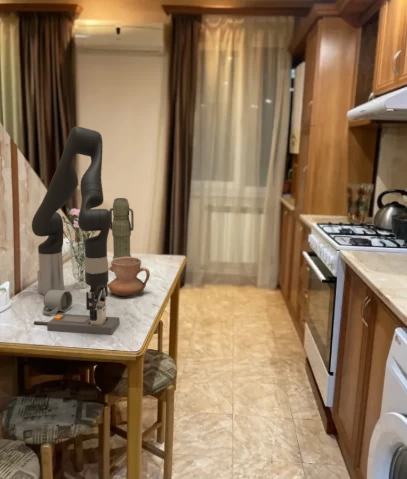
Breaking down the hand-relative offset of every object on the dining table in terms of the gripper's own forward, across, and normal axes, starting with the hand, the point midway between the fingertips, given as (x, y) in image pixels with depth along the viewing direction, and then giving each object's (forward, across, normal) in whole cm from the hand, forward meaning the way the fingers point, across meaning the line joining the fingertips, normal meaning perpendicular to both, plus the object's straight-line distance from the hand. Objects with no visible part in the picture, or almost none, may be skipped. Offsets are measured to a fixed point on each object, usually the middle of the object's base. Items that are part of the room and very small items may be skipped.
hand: (98, 315), depth 156 cm
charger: (+5, 0, 0) cm, 5 cm away
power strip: (+5, 0, -9) cm, 10 cm away
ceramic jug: (+5, -36, 0) cm, 37 cm away
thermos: (+5, -68, -12) cm, 70 cm away
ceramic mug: (+5, -13, -20) cm, 25 cm away
